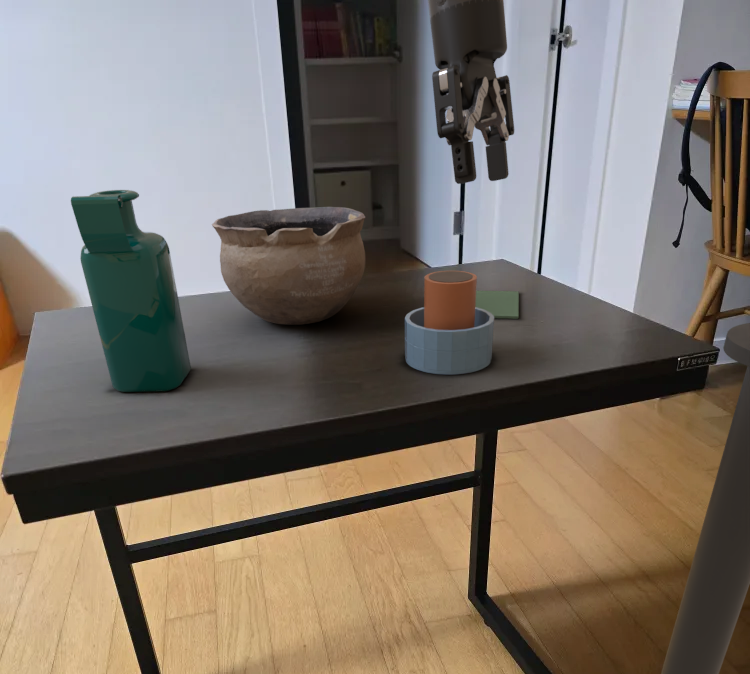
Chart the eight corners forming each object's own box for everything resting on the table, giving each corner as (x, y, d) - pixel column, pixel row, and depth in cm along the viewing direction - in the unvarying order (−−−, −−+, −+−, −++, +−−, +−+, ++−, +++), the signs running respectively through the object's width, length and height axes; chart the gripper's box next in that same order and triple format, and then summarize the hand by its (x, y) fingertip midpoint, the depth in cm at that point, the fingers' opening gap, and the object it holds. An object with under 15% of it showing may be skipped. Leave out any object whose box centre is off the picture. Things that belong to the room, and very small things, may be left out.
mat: (518, 293, 113) (518, 291, 112) (518, 318, 101) (518, 316, 101) (435, 292, 115) (435, 289, 115) (426, 316, 103) (426, 313, 103)
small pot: (474, 347, 90) (478, 270, 84) (471, 364, 84) (475, 283, 79) (426, 346, 91) (427, 269, 85) (420, 362, 85) (421, 282, 80)
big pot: (492, 345, 91) (495, 305, 88) (489, 376, 82) (492, 332, 79) (411, 343, 93) (411, 303, 90) (399, 372, 84) (399, 329, 81)
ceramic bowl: (239, 348, 93) (223, 234, 85) (217, 307, 111) (202, 210, 103) (388, 327, 99) (386, 219, 91) (344, 292, 117) (339, 198, 109)
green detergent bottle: (131, 368, 88) (88, 185, 76) (195, 367, 88) (161, 183, 76) (104, 398, 80) (51, 198, 68) (174, 397, 79) (134, 195, 68)
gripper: (468, -18, 61) (487, 176, 67) (527, 6, 71) (539, 172, 77) (399, 10, 65) (422, 190, 71) (464, 29, 76) (480, 185, 82)
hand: (483, 181), depth 74 cm, fingers open, 8 cm apart
